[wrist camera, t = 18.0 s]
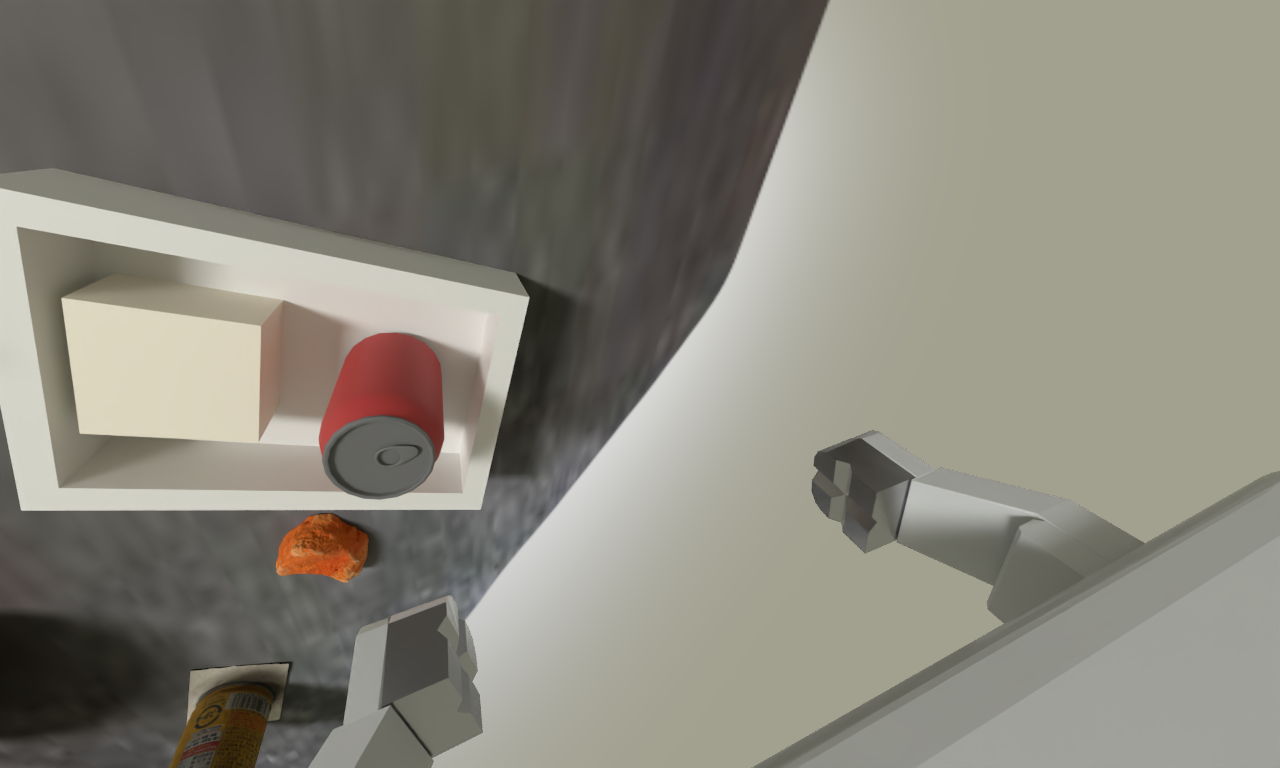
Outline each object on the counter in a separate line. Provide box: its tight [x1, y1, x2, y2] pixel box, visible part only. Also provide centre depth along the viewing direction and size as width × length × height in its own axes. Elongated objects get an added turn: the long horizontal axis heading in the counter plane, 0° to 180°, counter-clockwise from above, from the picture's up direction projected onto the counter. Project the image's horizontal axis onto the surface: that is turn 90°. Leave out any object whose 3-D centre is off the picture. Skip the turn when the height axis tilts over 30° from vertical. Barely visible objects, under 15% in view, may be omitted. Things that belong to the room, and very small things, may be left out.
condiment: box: [169, 664, 289, 768], centre depth 41 cm, size 7×8×12 cm
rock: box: [276, 513, 369, 582], centre depth 40 cm, size 12×12×4 cm
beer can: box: [318, 332, 444, 500], centre depth 31 cm, size 7×7×12 cm
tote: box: [0, 168, 530, 511], centre depth 32 cm, size 18×25×6 cm
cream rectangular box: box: [61, 273, 283, 443], centre depth 29 cm, size 8×8×5 cm
